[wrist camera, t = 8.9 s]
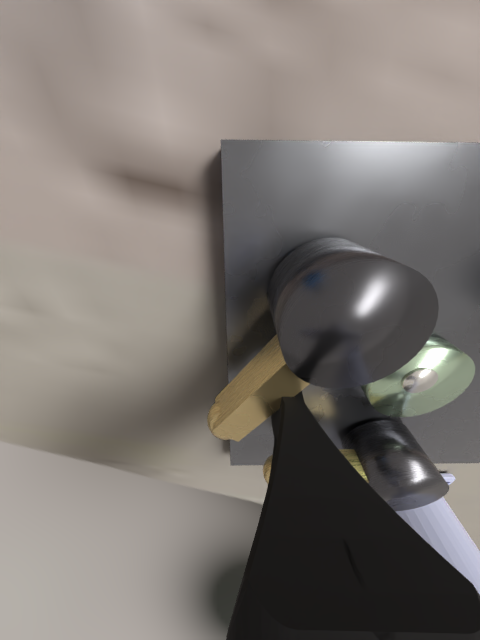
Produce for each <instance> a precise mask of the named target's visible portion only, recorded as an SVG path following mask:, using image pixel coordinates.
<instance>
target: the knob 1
mask: <svg viewBox="0 0 480 640" xmlns="http://www.w3.org/2000/svg"><path fill="white" fill-rule="evenodd" d="M268 304H269V308H270V312H271V315H272V319H273V322H274V326H275V330H276V333H277V334H276V335H275V336H274V337H273V338H272V339H271V340H270V341H269V343H268V344H267V345H266V346H265V347H264V348H263V349H262V350H261V351H260V352H259V353H258V354H257V355H256V356H255V357H254V358H253V359H252V360H251V361H250V362H249V363H248V364H247V365H246V366H245V367H244V368H243V369H242V371H241V372H240V373H239V374H238V375H237V376H236V377H235V378H234V379H233V380H232V381H231V382H230V383H229V384H228V385H227V386H226V387H225V388H224V389H223V390H222V391H221V392H220V393H219V394H218V395H217V396H216V398H215V403H214V404H213V406H212V407H211V408H210V410H209V413H208V418H207V421H208V427H209V429H210V431H211V432H212V434H213V435H214V436H216V437H217V438H219V439H222V440H229V439H232V440H235V441H238V442H239V441H240V440H241V439H242V438H244V437H245V436H246V435H247V434H249V433H250V432H251V431H252V430H254V429H255V428H256V427H257V426H258V425H260V424H261V423H262V422H263V421H265V420H266V419H267V418H268V417H270V416H271V415H272V414H273V413H275V412H276V411H277V410H278V409H279V408H280V404H281V399H282V397H294V396H296V395H297V394H298V393H299V392H301V391H302V390H303V389H304V388H305V387H307V386H308V385H309V384H312V385H315V386H319V387H324V388H332V389H343V388H352V387H358V386H362V385H366V384H369V383H372V382H375V381H377V380H380V379H382V378H384V377H386V376H388V375H390V374H392V373H394V372H395V371H397V370H398V369H400V368H401V367H403V366H404V365H405V364H407V363H408V362H409V361H410V360H411V359H413V358H414V357H415V356H416V355H417V354H418V353H419V351H420V350H421V349H422V348H423V347H424V345H425V344H426V343H427V341H428V340H429V338H430V336H431V335H432V332H433V330H434V328H435V325H436V322H437V318H438V311H439V305H438V298H437V294H436V291H435V289H434V287H433V285H432V284H431V283H430V281H429V280H428V279H427V278H426V277H425V276H424V275H422V274H421V273H420V272H418V271H416V270H414V269H413V268H411V267H408V266H406V265H404V264H402V263H399V262H397V261H395V260H392V259H390V258H388V257H386V256H383V255H381V254H379V253H377V252H374V251H372V250H370V249H367V248H365V247H363V246H361V245H358V244H356V243H354V242H352V241H349V240H346V239H341V238H321V239H317V240H313V241H310V242H308V243H305V244H303V245H301V246H299V247H298V248H296V249H295V250H293V251H292V252H291V253H290V254H288V255H287V256H286V257H285V258H284V259H283V260H282V261H281V263H280V264H279V265H278V267H277V268H276V270H275V272H274V273H273V275H272V278H271V280H270V284H269V288H268Z"/></svg>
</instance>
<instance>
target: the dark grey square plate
mask: <svg viewBox="0 0 480 640" xmlns="http://www.w3.org/2000/svg"><path fill="white" fill-rule="evenodd" d="M221 165H222V198H223V231H224V263H225V296H226V329H227V362H228V384H229V383H230V382H231V381H232V380H233V379H234V378H235V377H236V376H237V375H238V374H239V373H240V372H241V371H242V369H243V368H244V367H245V366H246V365H247V364H248V363H249V362H250V361H251V360H252V359H253V358H254V357H255V356H256V355H257V354H258V353H259V352H260V351H261V350H262V349H263V348H264V347H265V346H266V345H267V344H268V343H269V341H270V340H271V339H272V338H273V337H274V336H275V335H276V334H277V333H276V330H275V326H274V322H273V319H272V315H271V312H270V308H269V304H268V288H269V284H270V280H271V278H272V275H273V273H274V272H275V270H276V268H277V267H278V265H279V264H280V263H281V261H282V260H283V259H284V258H285V257H286V256H287V255H288V254H290V253H291V252H292V251H293V250H295V249H296V248H298V247H299V246H301V245H303V244H305V243H308V242H310V241H313V240H317V239H321V238H341V239H346V240H349V241H352V242H354V243H356V244H358V245H361V246H363V247H365V248H367V249H370V250H372V251H374V252H377V253H379V254H381V255H383V256H386V257H388V258H390V259H392V260H395V261H397V262H399V263H402V264H404V265H406V266H408V267H411V268H413V269H414V270H416V271H418V272H420V273H421V274H422V275H424V276H425V277H426V278H427V279H428V280H429V281H430V283H431V284H432V285H433V287H434V289H435V291H436V294H437V298H438V305H439V311H438V318H437V322H436V325H435V328H434V330H433V332H432V335H431V336H430V338H429V340H428V341H427V343H426V344H425V345H424V347H423V348H422V349H421V350H420V351H419V353H418V354H417V355H416V356H415V357H414V358H413V359H411V360H410V361H409V362H408V363H407V364H405V365H404V366H403V367H401V368H400V369H398V370H397V371H395V372H394V373H392V374H390V375H388V376H386V377H384V378H382V379H380V380H377V381H375V382H372V383H369V384H366V385H362V386H358V387H352V388H343V389H332V388H324V387H319V386H315V385H312V384H309V385H308V386H307V387H305V388H304V389H303V390H302V394H303V398H304V402H305V404H306V405H307V407H308V408H309V410H310V411H311V413H312V414H313V416H314V417H315V419H316V420H317V421H318V423H319V424H320V426H321V427H322V428H323V430H324V431H325V432H326V434H327V435H328V436H329V438H330V439H331V440H332V442H333V443H334V444H335V445H336V447H337V448H338V449H343V447H342V441H343V439H344V437H345V436H346V435H347V434H348V433H349V432H350V431H351V430H353V429H354V428H356V427H358V426H360V425H363V424H365V423H369V422H373V421H379V420H393V421H398V422H401V423H403V424H404V425H405V426H406V427H407V428H408V429H409V431H410V432H411V434H412V435H413V436H414V438H415V439H416V441H417V442H418V443H419V445H420V446H421V447H422V449H423V450H424V452H425V453H426V454H427V456H428V457H429V459H430V460H431V461H432V463H479V462H480V143H466V142H380V141H295V140H221ZM273 447H274V435H273V429H272V421H271V416H270V417H268V418H267V419H266V420H265V421H263V422H262V423H261V424H260V425H258V426H257V427H256V428H255V429H254V430H252V431H251V432H250V433H249V434H247V435H246V436H245V437H244V438H242V439H241V440H240V441H239V442H238V441H235V440H232V439H230V460H231V465H264V463H265V461H266V459H267V458H268V457H269V456H271V455H273Z"/></svg>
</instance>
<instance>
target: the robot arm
mask: <svg viewBox="0 0 480 640" xmlns="http://www.w3.org/2000/svg"><path fill="white" fill-rule="evenodd" d="M271 421H272V429H273V435H274V447H273V455H272V463H271V470H270V476H269V482H268V488H267V493H266V497H265V500H264V504H263V508H262V512H261V516H260V520H259V523H258V527H257V531H256V534H255V538H254V541H253V545H252V548H251V551H250V555H249V558H248V562H247V565H246V569H245V572H244V576H243V579H242V583H241V586H240V590H239V593H238V596H237V600H236V603H235V607H234V611H233V614H232V617H231V621H230V625H229V628H228V633H227V639H226V640H480V551H479V549H478V548H477V546H476V545H475V544H474V542H473V541H472V539H471V538H470V536H469V535H468V533H467V532H466V530H465V529H464V527H463V526H462V524H461V523H460V521H459V520H458V518H457V517H456V515H455V514H454V512H453V511H452V509H451V508H450V506H449V505H448V503H447V502H446V500H445V499H444V498H443V497H442V498H440V499H439V500H437V501H435V502H433V503H430V504H428V505H425V506H422V507H419V508H415V509H410V510H404V511H394V510H393V509H392V508H391V507H390V505H389V504H388V503H387V502H386V501H385V500H384V499H383V498H382V497H381V496H380V495H379V494H378V493H377V492H376V491H375V490H374V489H373V488H372V487H371V486H370V485H369V484H368V483H367V482H366V480H365V479H364V478H363V477H362V476H361V475H360V474H359V473H358V471H357V470H356V469H355V468H354V467H353V466H352V465H351V464H350V462H349V461H348V460H347V459H346V458H345V456H344V455H343V454H342V453H341V452H340V450H339V449H338V448H337V447H336V445H335V444H334V443H333V442H332V440H331V439H330V438H329V436H328V435H327V434H326V432H325V431H324V430H323V428H322V427H321V426H320V424H319V423H318V421H317V420H316V419H315V417H314V416H313V414H312V413H311V411H310V410H309V408H308V407H307V405H306V404H305V402H304V398H303V394H302V391H301V392H299V393H298V394H297V395H296V396H294V397H282V399H281V404H280V408H279V409H278V410H277V411H276V412H275V413H273V414H272V415H271ZM440 474H441V475H442V477H443V478H444V479H445V481H446V482H447V484H448V485H450V484H451V483H452V482H453V481H454V480H455V477H454V476H453V475H452V474H450V473H440Z"/></svg>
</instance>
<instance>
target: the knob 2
mask: <svg viewBox="0 0 480 640" xmlns="http://www.w3.org/2000/svg"><path fill="white" fill-rule="evenodd" d="M342 447H343V449H339V450H340V452H341V453H342V454H343V455H344V456H345V458H346V459H347V460H348V461H349V462H350V464H351V465H352V466H353V467H354V468H355V469H356V470H357V471H358V473H359V474H360V475H361V476H362V477H363V478H364V479H365V480H366V482H367V483H368V484H369V485H370V486H371V487H372V488H373V489H374V490H375V491H376V492H377V493H378V494H379V495H380V496H381V497H382V498H383V499H384V500H385V501H386V502H387V503H388V504H389V505H390V507H391V508H392V509H393V510H394V511H404V510H410V509H415V508H419V507H422V506H425V505H428V504H430V503H433V502H435V501H437V500H439V499H440V498H442V497H443V496H444V495H445V494H446V493H447V492H448V490H449V485H448V484H447V482H446V481H445V479H444V478H443V477H442V475H441V474H440V472H439V471H438V470H437V468H436V467H435V466H434V464H433V463H432V461H431V460H430V459H429V457H428V456H427V454H426V453H425V452H424V450H423V449H422V447H421V446H420V445H419V443H418V442H417V441H416V439H415V438H414V436H413V435H412V434H411V432H410V431H409V429H408V428H407V427H406V426H405V425H404V424H403V423H401V422H398V421H393V420H379V421H373V422H369V423H365V424H363V425H360V426H358V427H356V428H354V429H353V430H351V431H350V432H349V433H348V434H347V435H346V436H345V437H344V439H343V441H342ZM271 463H272V455H271V456H269V457H268V458H267V459H266V461H265V463H264V466H263V474H264V478H265V480H266V482H267V484H268V482H269V476H270V470H271Z"/></svg>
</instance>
